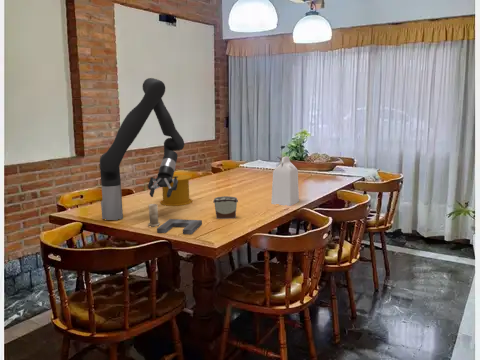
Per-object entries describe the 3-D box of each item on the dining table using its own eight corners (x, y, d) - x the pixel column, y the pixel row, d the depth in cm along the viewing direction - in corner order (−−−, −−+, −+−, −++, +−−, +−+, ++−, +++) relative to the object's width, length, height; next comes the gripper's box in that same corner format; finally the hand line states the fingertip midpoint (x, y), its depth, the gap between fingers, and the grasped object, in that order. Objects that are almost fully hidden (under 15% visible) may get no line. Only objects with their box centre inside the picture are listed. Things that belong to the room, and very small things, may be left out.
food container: (238, 215, 225) (237, 195, 224) (238, 218, 219) (238, 198, 218) (213, 215, 225) (213, 196, 223) (213, 218, 219) (212, 199, 217)
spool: (186, 206, 245) (185, 180, 242) (155, 205, 249) (154, 179, 246) (195, 199, 262) (195, 174, 260) (167, 198, 266) (166, 174, 263)
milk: (280, 199, 259) (280, 155, 254) (298, 201, 253) (299, 156, 248) (271, 203, 248) (271, 157, 244) (290, 206, 243) (290, 158, 238)
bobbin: (146, 226, 207) (145, 205, 205) (151, 223, 212) (150, 203, 210) (157, 227, 206) (156, 206, 204) (161, 224, 211) (160, 203, 209)
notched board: (157, 232, 197) (156, 228, 197) (169, 222, 213) (169, 218, 212) (191, 234, 194) (191, 230, 194) (202, 224, 209) (201, 220, 209)
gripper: (151, 164, 222) (143, 191, 213) (178, 165, 220) (171, 192, 211) (156, 173, 228) (148, 200, 219) (182, 173, 226) (175, 201, 217)
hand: (159, 196), depth 215 cm, fingers open, 8 cm apart
